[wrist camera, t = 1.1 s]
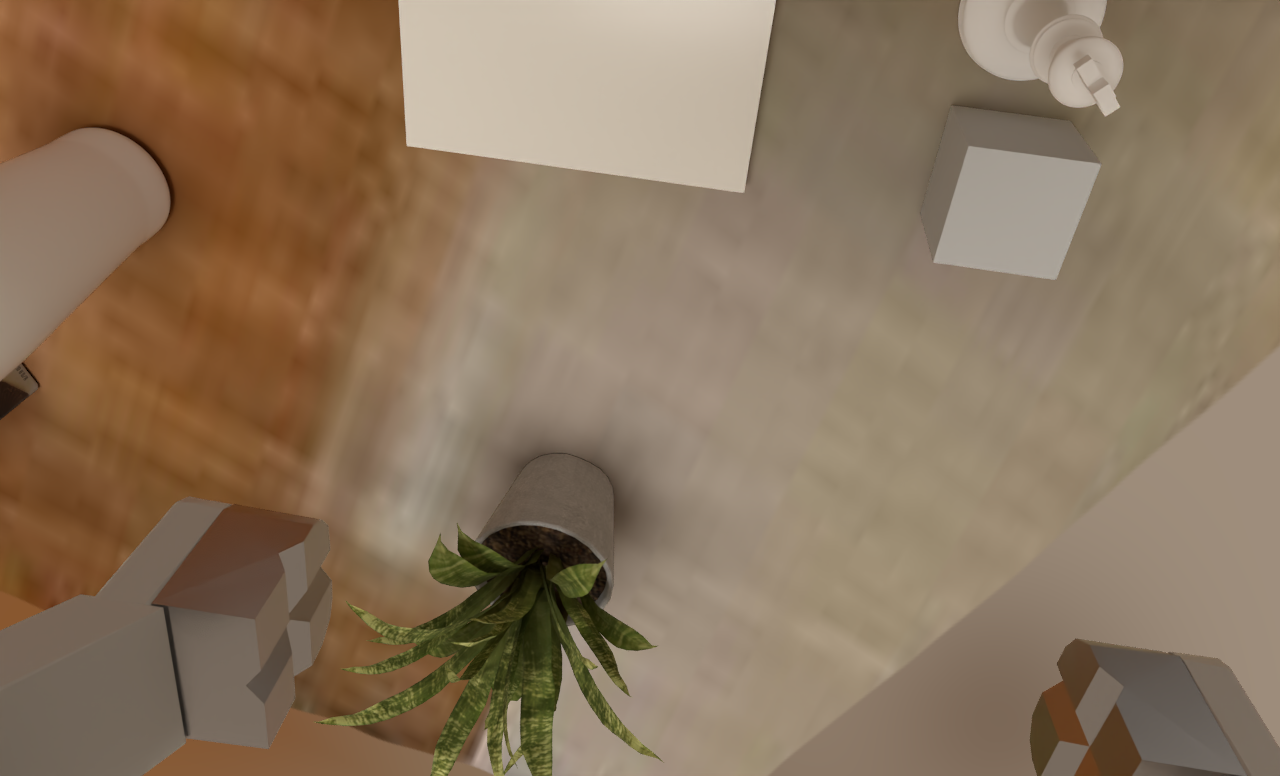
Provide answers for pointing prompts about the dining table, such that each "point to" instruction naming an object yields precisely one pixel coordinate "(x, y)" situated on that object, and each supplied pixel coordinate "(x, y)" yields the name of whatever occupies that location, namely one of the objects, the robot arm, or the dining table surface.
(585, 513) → the house plant
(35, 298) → the drinking glass
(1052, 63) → the chess piece
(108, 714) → the robot arm
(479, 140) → the ceramic tile
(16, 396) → the coffee box
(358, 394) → the dining table surface
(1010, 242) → the grey block
